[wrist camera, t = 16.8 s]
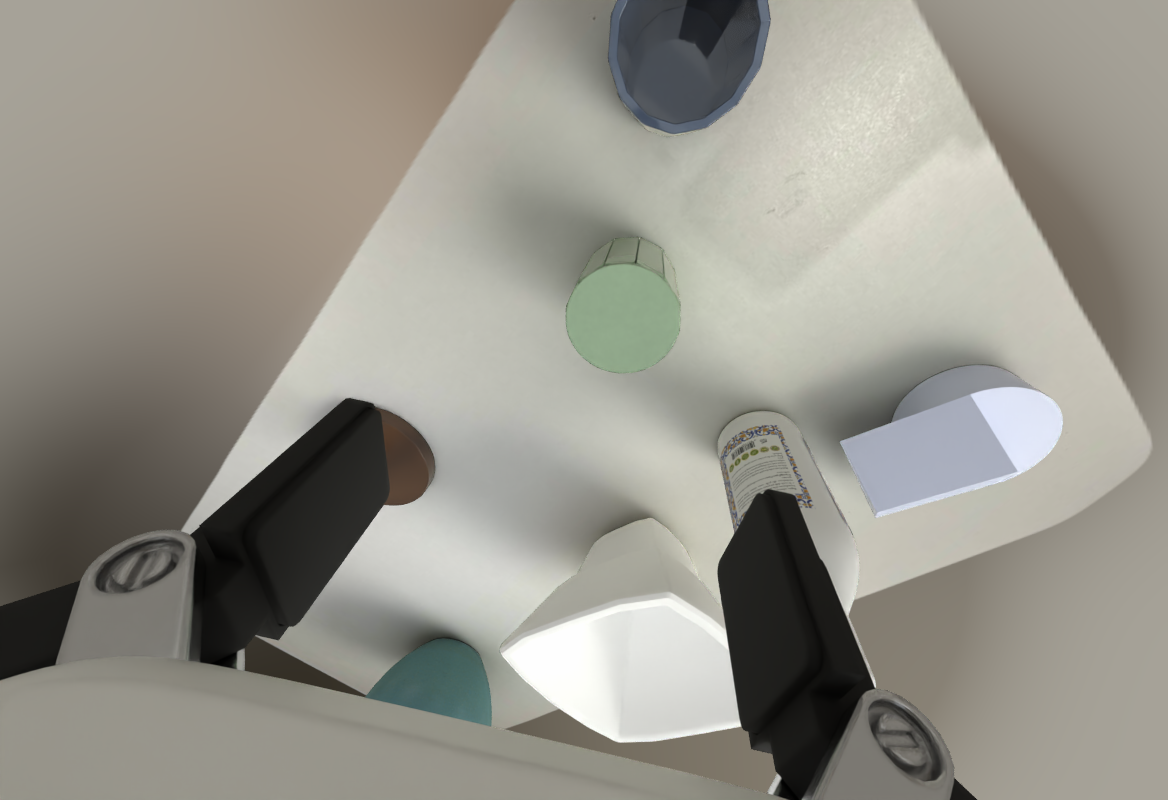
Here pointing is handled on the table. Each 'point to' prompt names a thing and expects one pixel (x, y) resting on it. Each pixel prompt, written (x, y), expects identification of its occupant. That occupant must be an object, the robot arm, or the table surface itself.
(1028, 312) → the table surface
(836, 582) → the bath foam
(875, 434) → the wedge on round base
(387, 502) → the disc
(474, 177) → the table surface
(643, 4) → the blue cup
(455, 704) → the plant pot
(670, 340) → the green cup
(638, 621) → the bowl
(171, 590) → the robot arm
